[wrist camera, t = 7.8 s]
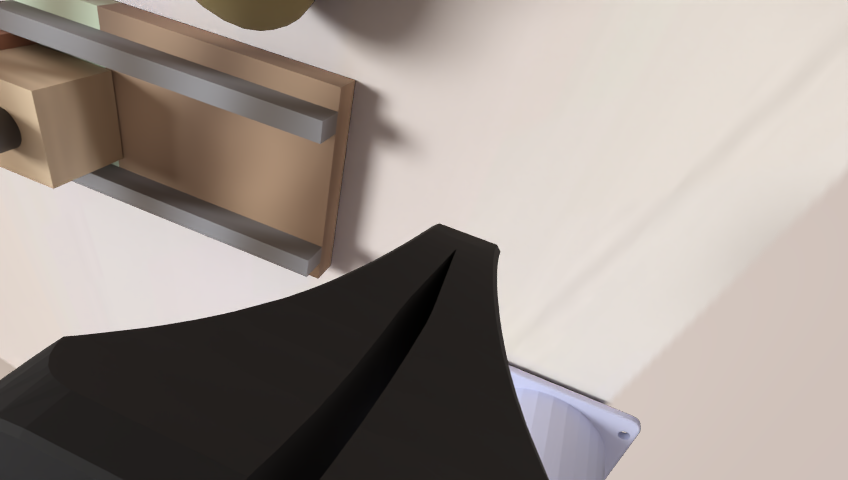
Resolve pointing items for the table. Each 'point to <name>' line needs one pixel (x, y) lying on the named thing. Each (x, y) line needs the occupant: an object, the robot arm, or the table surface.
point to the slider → (55, 115)
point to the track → (208, 126)
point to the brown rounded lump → (258, 12)
